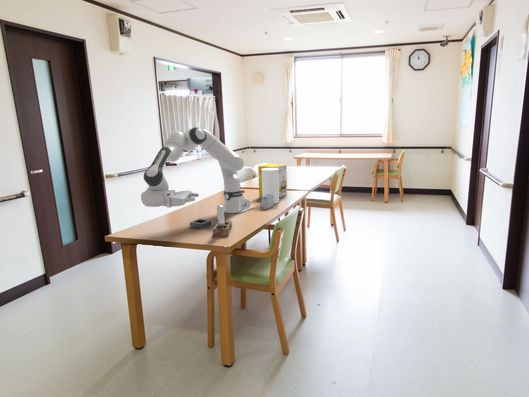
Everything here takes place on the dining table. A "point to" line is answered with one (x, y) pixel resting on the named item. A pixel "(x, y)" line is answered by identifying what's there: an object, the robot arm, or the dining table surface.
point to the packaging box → (281, 178)
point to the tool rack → (222, 229)
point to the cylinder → (270, 183)
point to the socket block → (200, 223)
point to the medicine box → (267, 201)
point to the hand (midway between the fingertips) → (196, 197)
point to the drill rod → (220, 216)
